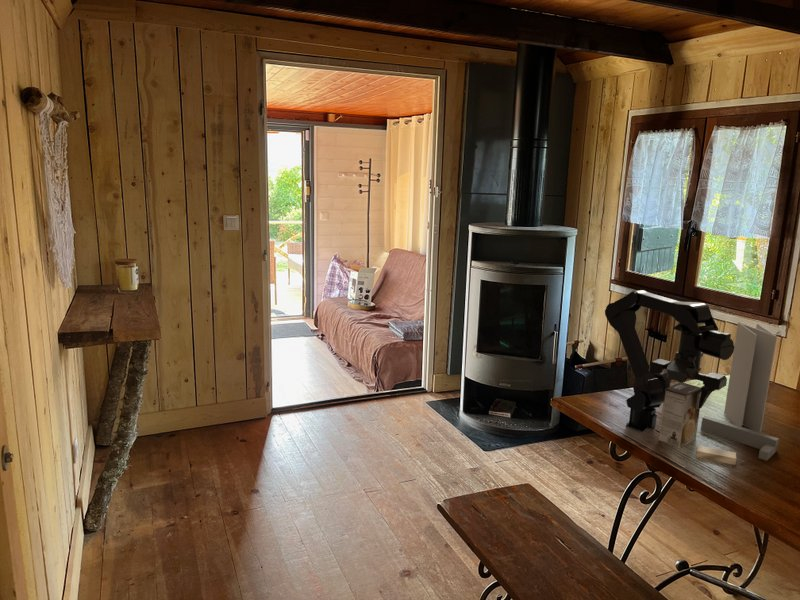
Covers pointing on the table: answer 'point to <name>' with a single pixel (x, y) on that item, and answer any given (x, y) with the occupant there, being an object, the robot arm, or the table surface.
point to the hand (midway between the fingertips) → (682, 402)
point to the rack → (742, 436)
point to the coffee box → (680, 414)
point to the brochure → (750, 376)
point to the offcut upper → (716, 455)
